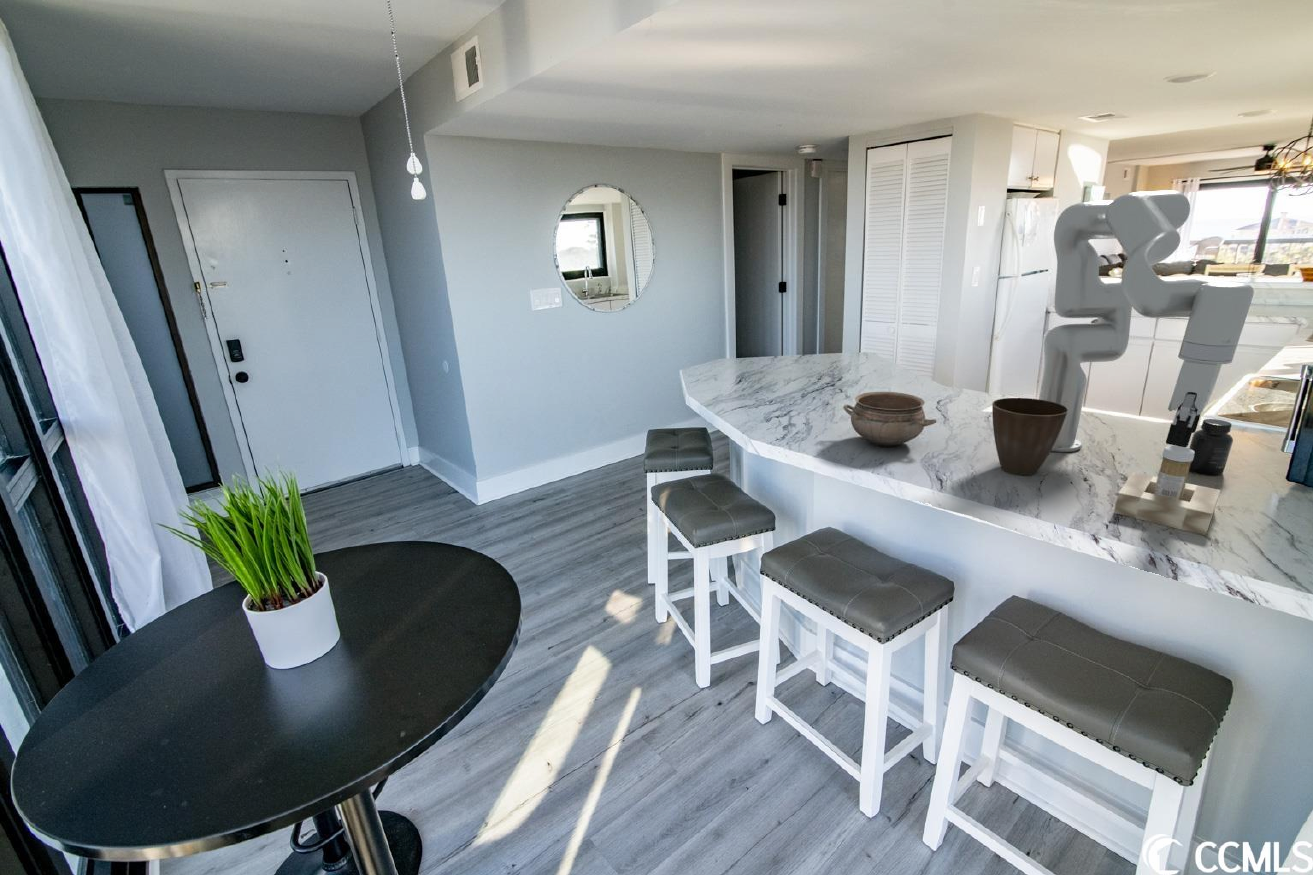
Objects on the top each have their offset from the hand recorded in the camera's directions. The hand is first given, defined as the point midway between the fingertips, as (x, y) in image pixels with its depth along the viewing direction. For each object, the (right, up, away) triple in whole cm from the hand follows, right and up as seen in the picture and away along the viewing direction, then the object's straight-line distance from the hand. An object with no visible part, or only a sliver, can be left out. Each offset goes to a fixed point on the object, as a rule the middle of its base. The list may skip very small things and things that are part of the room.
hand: (1180, 437), depth 115 cm
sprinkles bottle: (+1, -15, +5) cm, 16 cm away
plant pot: (-15, -8, +27) cm, 32 cm away
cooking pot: (-39, -2, +48) cm, 62 cm away
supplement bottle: (+25, -8, +22) cm, 34 cm away
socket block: (+1, -15, +4) cm, 16 cm away
